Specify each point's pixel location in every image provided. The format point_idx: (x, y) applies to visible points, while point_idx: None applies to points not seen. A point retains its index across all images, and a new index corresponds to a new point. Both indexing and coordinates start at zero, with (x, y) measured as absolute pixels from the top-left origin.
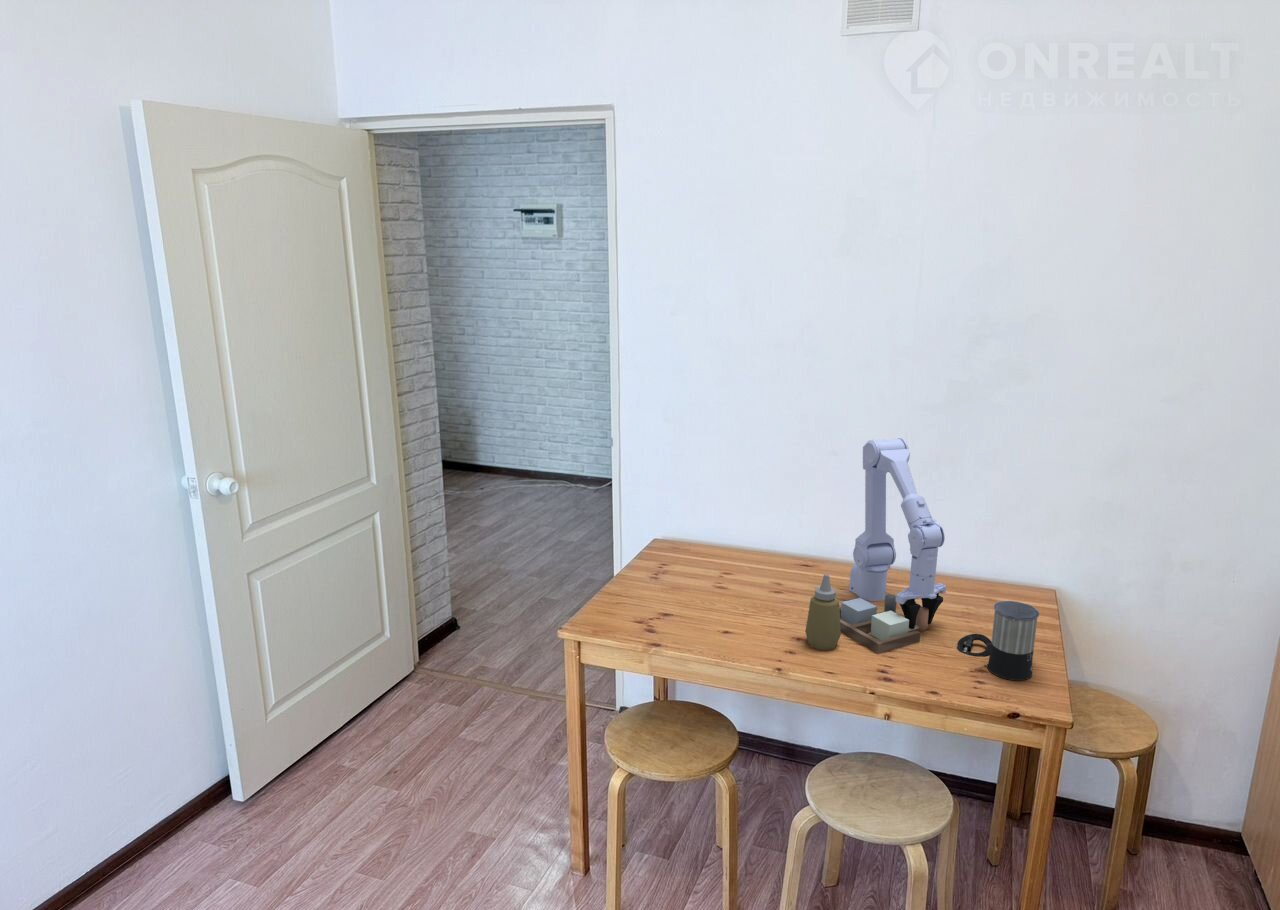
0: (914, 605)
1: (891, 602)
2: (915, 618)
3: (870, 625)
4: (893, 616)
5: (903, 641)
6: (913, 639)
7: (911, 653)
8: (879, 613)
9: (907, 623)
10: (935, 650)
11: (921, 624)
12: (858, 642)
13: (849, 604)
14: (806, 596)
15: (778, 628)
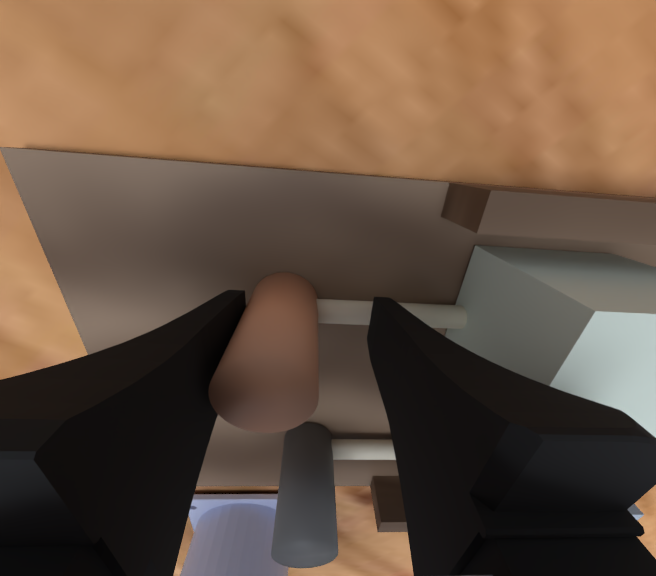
0: (615, 470)
1: (327, 511)
2: (414, 331)
3: None
4: None
5: (626, 198)
6: (528, 190)
7: (575, 129)
8: None
9: (585, 295)
10: (424, 60)
11: (310, 302)
12: None
13: None
14: (400, 561)
15: (646, 493)
